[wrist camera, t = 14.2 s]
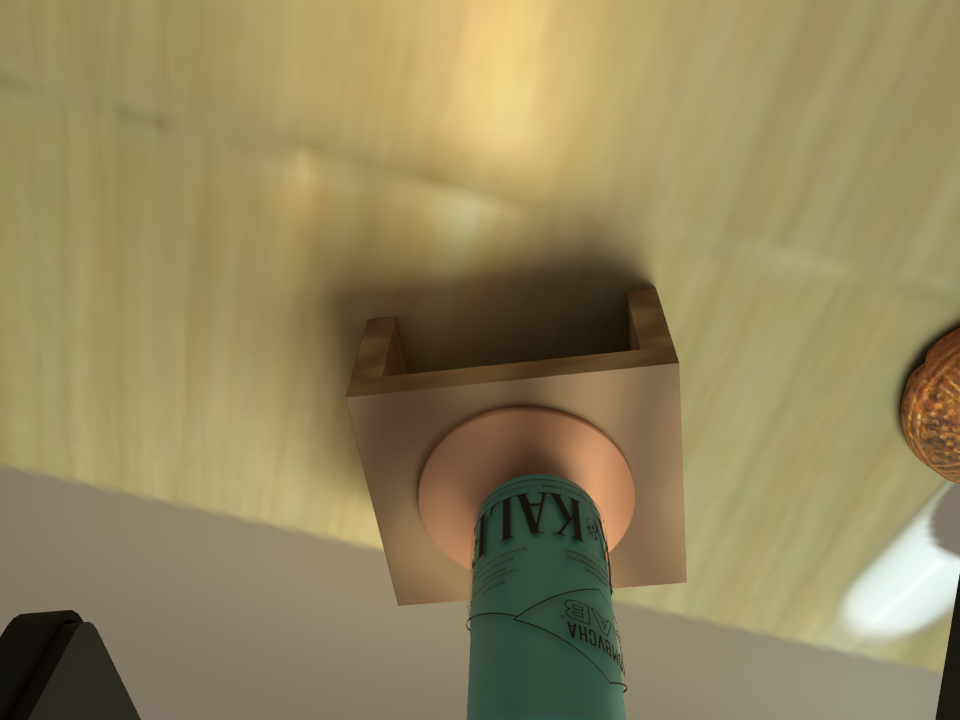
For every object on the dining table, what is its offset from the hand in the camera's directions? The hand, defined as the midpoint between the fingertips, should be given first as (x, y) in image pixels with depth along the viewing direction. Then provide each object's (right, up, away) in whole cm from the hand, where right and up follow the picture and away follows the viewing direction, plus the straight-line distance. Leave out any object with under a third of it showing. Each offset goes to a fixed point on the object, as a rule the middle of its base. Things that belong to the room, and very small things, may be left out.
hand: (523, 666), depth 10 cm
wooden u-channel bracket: (+2, 0, +44) cm, 44 cm away
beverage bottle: (+2, -4, +37) cm, 37 cm away
